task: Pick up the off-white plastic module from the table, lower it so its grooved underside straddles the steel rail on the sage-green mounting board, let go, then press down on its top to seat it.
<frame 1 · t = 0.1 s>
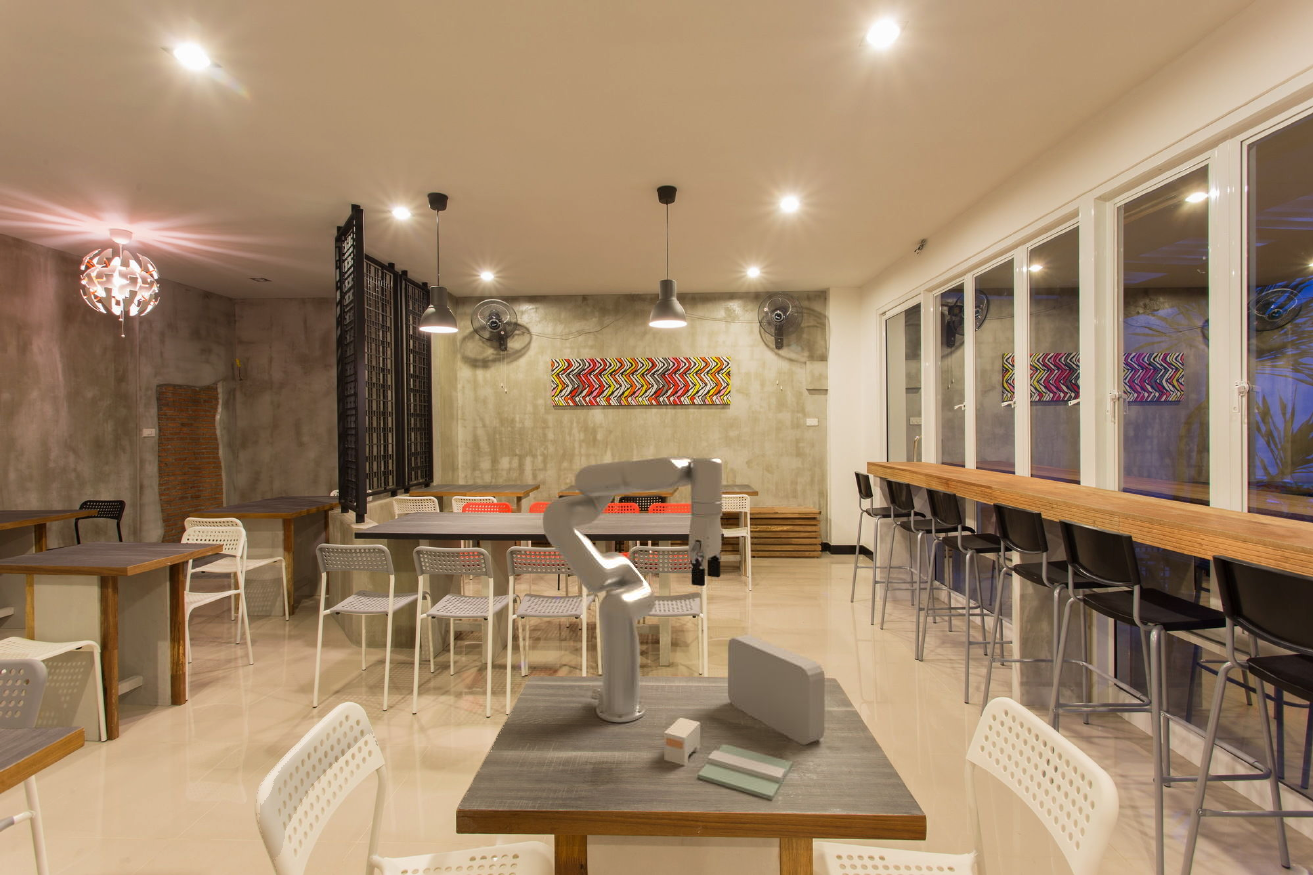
hand: (706, 580, 144), 37 cm above the table, tool pointing down, fingers open, 9 cm apart
rail board: (746, 771, 128), on the table
module: (682, 754, 135), on the table
grey rounded block: (772, 722, 151), on the table
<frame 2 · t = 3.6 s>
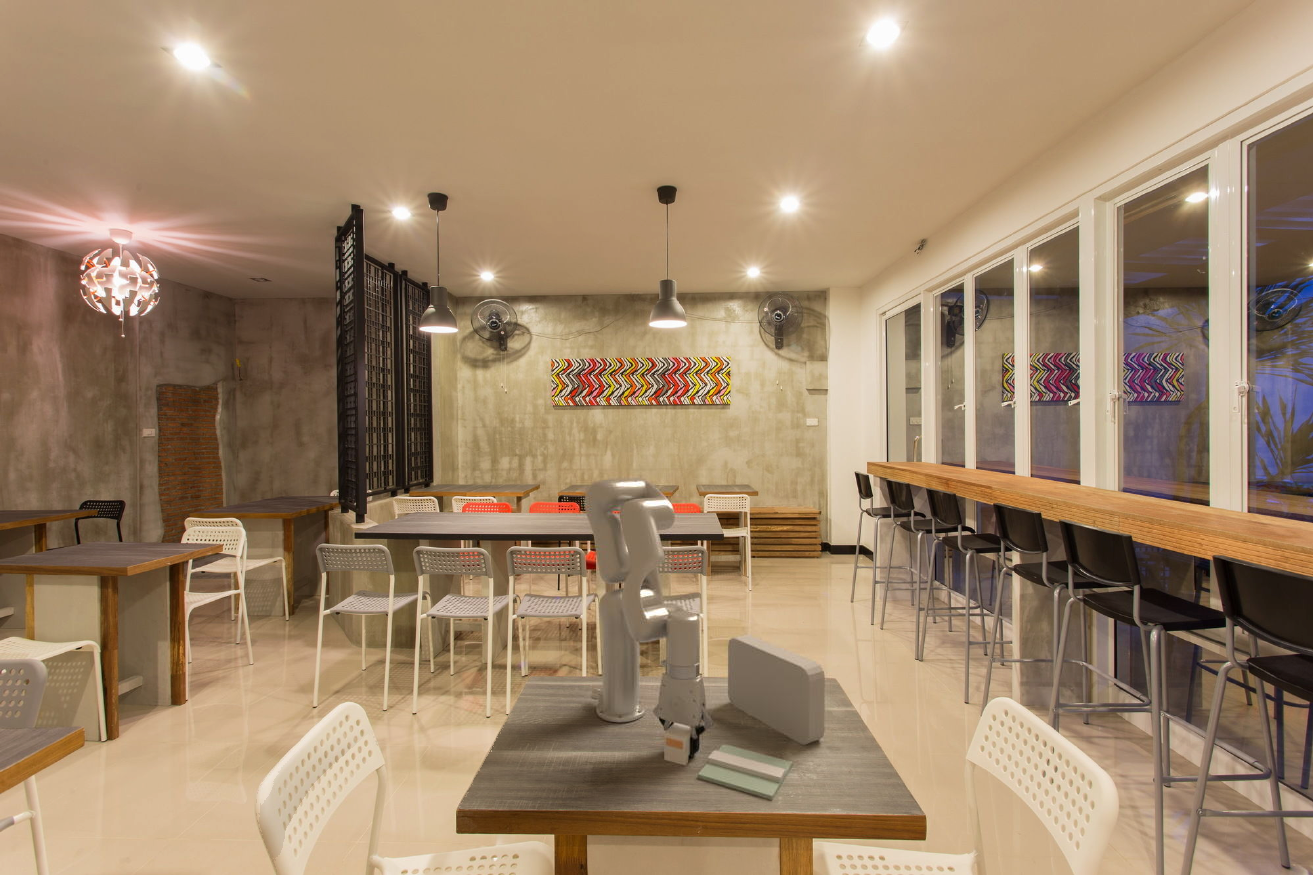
hand: (682, 749, 135), 1 cm above the table, tool pointing down, fingers closed on module, 4 cm apart
module: (682, 753, 135), on the table, touching gripper
everything else where it was.
when the fingers open (3 cm above the table, at t = 9.8 s): module stays where it is, resting on rail board.
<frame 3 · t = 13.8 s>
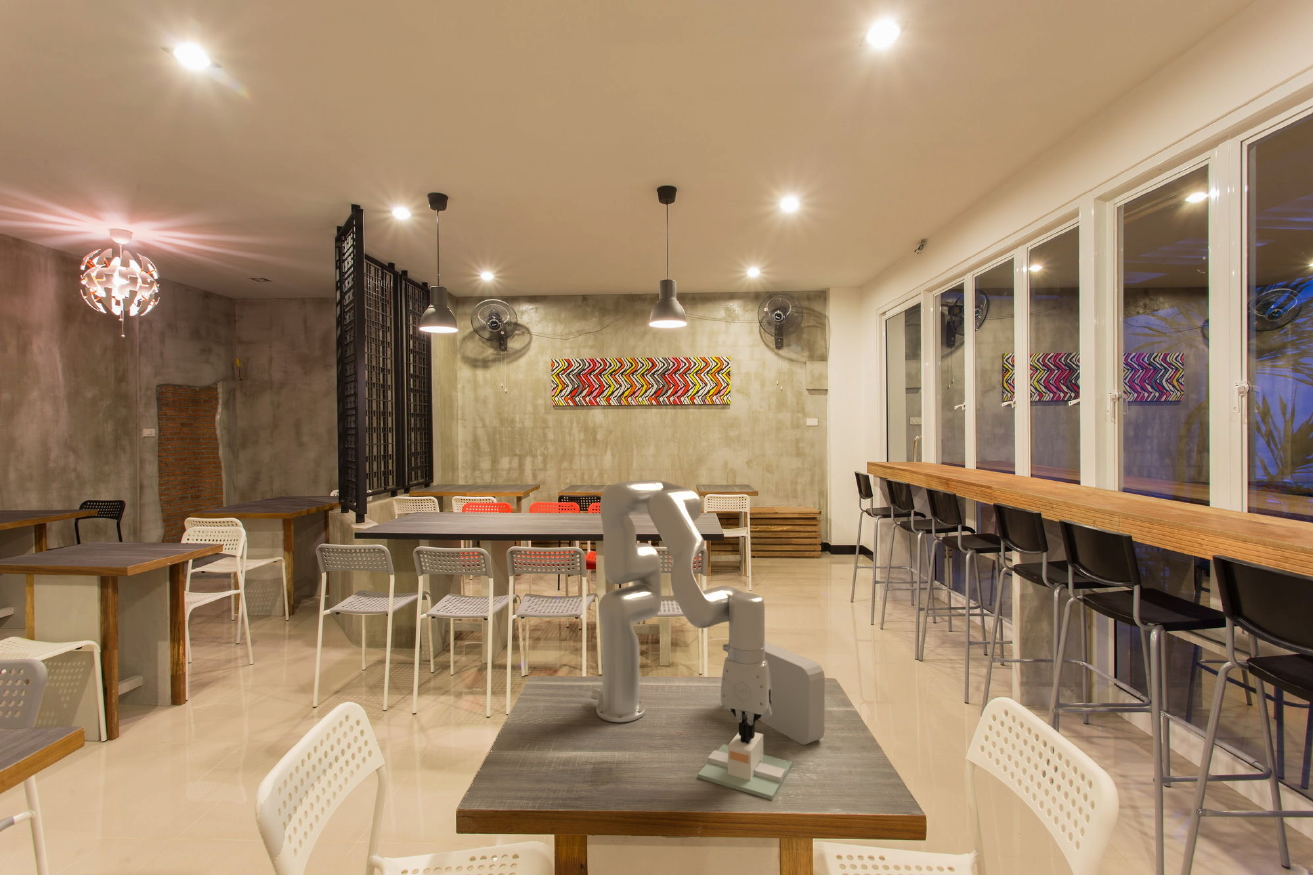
hand: (746, 739, 128), 7 cm above the table, tool pointing down, fingers closed
module: (745, 767, 128), point 1 cm above the table, touching gripper, rail board
everything else where it was.
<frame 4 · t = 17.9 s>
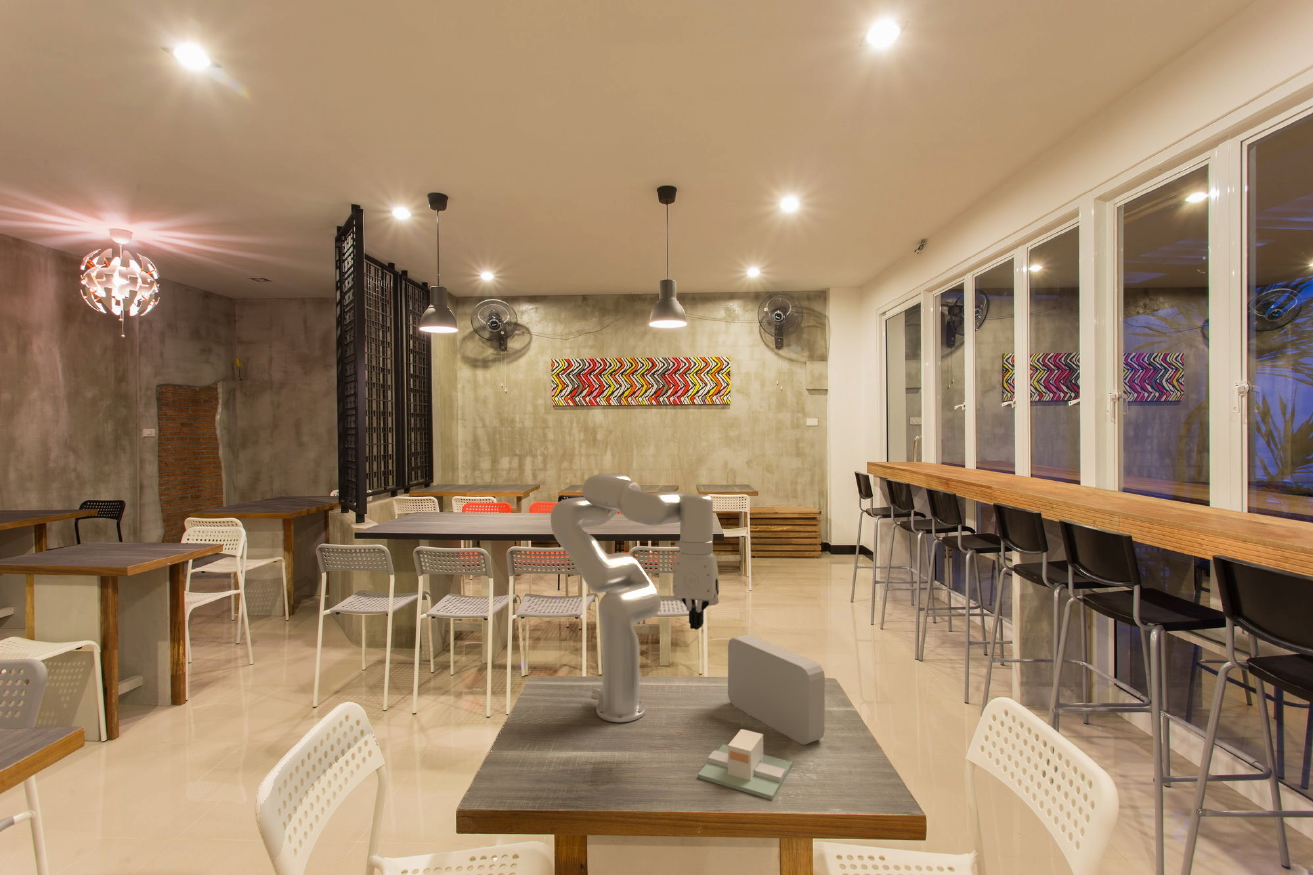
hand: (696, 627, 139), 27 cm above the table, tool pointing down, fingers closed
module: (745, 767, 128), point 1 cm above the table, touching rail board
everything else where it was.
at the end: module 0.1 cm off-centre on the rail board, point 0.8 cm above the rail board's base; module tilted 0°; the gripper is holding nothing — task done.
